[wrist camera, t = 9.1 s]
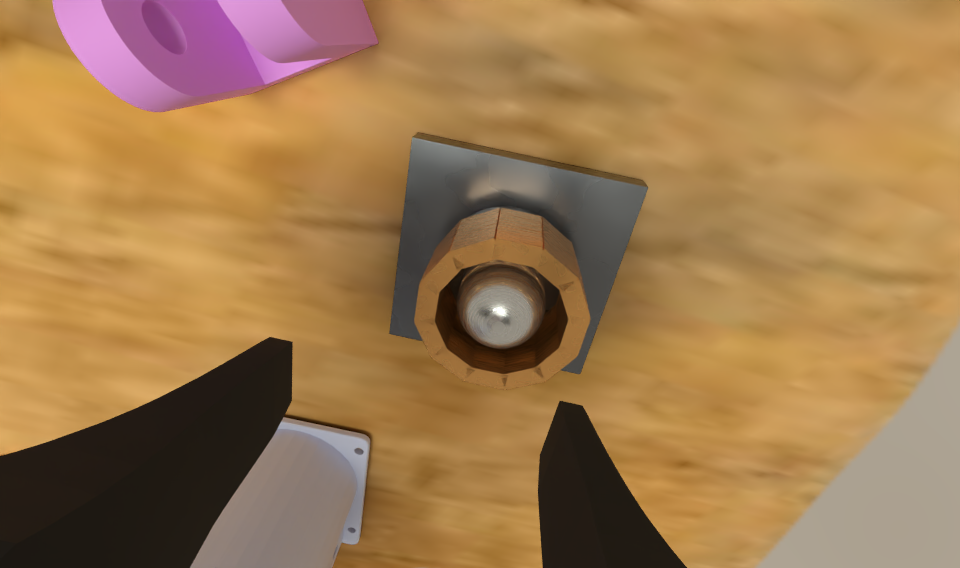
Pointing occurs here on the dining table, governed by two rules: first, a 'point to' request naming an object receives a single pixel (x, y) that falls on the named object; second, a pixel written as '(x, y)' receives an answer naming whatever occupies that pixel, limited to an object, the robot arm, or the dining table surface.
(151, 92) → the bracket
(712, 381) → the dining table surface
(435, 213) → the stand
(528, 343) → the wooden ring
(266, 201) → the dining table surface
